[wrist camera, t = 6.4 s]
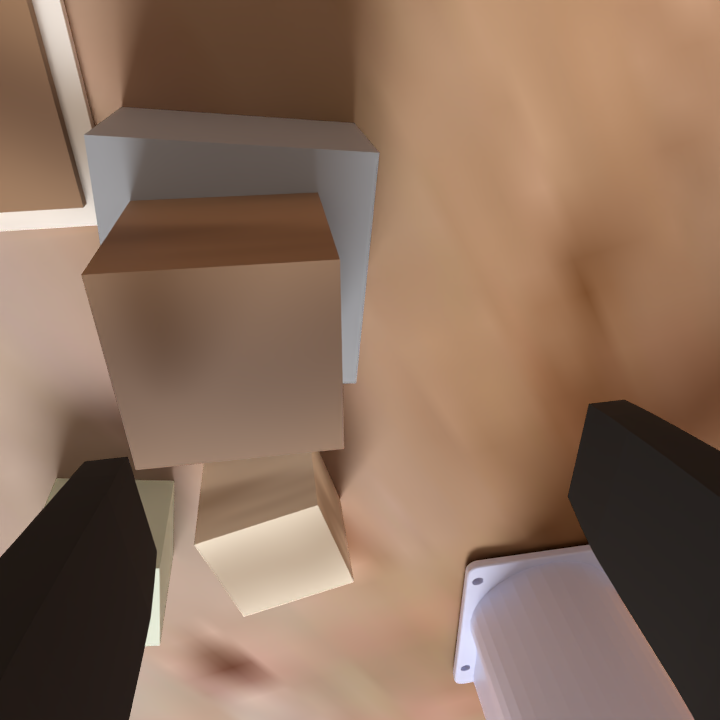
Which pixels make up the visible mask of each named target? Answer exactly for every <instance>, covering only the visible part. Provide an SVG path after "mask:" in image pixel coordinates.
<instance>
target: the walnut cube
mask: <svg viewBox="0 0 720 720" xmlns="http://www.w3.org/2000/svg"><path fill="white" fill-rule="evenodd" d="M82 279H83V282H84V286H85V290H86V293H87V297H88V300H89V304H90V308H91V311H92V315H93V318H94V322H95V326H96V329H97V333H98V336H99V340H100V344H101V347H102V351H103V354H104V358H105V362H106V365H107V369H108V372H109V376H110V379H111V383H112V387H113V390H114V394H115V397H116V401H117V405H118V408H119V412H120V415H121V419H122V423H123V426H124V430H125V433H126V437H127V441H128V444H129V448H130V451H131V455H132V459H133V462H134V466H135V469H136V470H142V469H152V468H162V467H172V466H181V465H191V464H201V463H211V462H221V461H230V460H240V459H250V458H260V457H269V456H279V455H289V454H299V453H308V452H318V451H328V450H338V449H344V416H343V370H342V325H341V280H340V258H339V255H338V252H337V249H336V246H335V243H334V240H333V237H332V234H331V230H330V227H329V224H328V221H327V218H326V215H325V212H324V209H323V206H322V203H321V200H320V197H319V194H318V192H317V193H294V194H272V195H249V196H227V197H204V198H182V199H159V200H137V201H130V202H129V203H128V205H127V206H126V208H125V209H124V211H123V212H122V214H121V215H120V217H119V218H118V220H117V221H116V223H115V224H114V226H113V228H112V229H111V231H110V232H109V234H108V235H107V237H106V238H105V240H104V241H103V243H102V244H101V246H100V247H99V249H98V250H97V252H96V253H95V255H94V256H93V258H92V260H91V261H90V263H89V264H88V266H87V267H86V269H85V270H84V272H83V273H82Z"/></svg>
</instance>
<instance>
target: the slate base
mask: <svg viewBox="0 0 720 720" xmlns="http://www.w3.org/2000/svg"><path fill="white" fill-rule="evenodd" d="M84 139H85V146H86V153H87V159H88V166H89V172H90V179H91V186H92V192H93V199H94V206H95V212H96V219H97V225H98V232H99V239H100V245H101V244H102V243H103V241H104V240H105V238H106V237H107V235H108V234H109V232H110V231H111V229H112V228H113V226H114V224H115V223H116V221H117V220H118V218H119V217H120V215H121V214H122V212H123V211H124V209H125V208H126V206H127V205H128V203H129V202H130V201H137V200H159V199H182V198H204V197H227V196H249V195H272V194H294V193H317V192H318V194H319V197H320V200H321V203H322V206H323V209H324V212H325V215H326V218H327V221H328V224H329V227H330V230H331V234H332V237H333V240H334V243H335V246H336V249H337V252H338V255H339V258H340V280H341V325H342V370H343V383H356V379H357V369H358V359H359V349H360V340H361V330H362V320H363V310H364V300H365V290H366V280H367V270H368V260H369V250H370V240H371V230H372V221H373V211H374V201H375V191H376V181H377V171H378V161H379V152H378V151H377V149H376V148H375V147H374V146H373V145H372V143H371V142H370V141H369V140H368V139H367V138H366V136H365V135H364V134H363V133H362V132H361V130H360V129H359V128H358V127H357V126H356V124H355V123H347V122H333V121H318V120H304V119H289V118H275V117H261V116H246V115H232V114H218V113H203V112H189V111H175V110H160V109H146V108H131V107H121V108H120V109H118V110H117V111H115V112H114V113H113V114H111V115H110V116H109V117H107V118H106V119H105V120H103V121H102V122H100V123H99V124H98V125H96V126H95V127H94V128H92V129H91V130H90V131H88V132H87V133H86V134H84Z"/></svg>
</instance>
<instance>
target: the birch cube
mask: <svg viewBox="0 0 720 720" xmlns="http://www.w3.org/2000/svg"><path fill="white" fill-rule="evenodd" d="M194 545H195V547H196V548H197V550H198V551H199V553H200V554H201V556H202V557H203V559H204V560H205V561H206V563H207V564H208V566H209V567H210V569H211V570H212V572H213V573H214V575H215V576H216V577H217V579H218V580H219V582H220V583H221V585H222V586H223V588H224V589H225V591H226V592H227V593H228V595H229V596H230V598H231V599H232V601H233V602H234V604H235V605H236V607H237V608H238V609H239V611H240V612H241V614H242V615H243V617H245V616H248V615H251V614H255V613H258V612H261V611H264V610H267V609H270V608H273V607H277V606H280V605H283V604H286V603H289V602H292V601H295V600H299V599H302V598H305V597H308V596H311V595H314V594H318V593H321V592H324V591H327V590H330V589H333V588H336V587H340V586H343V585H346V584H349V583H352V582H354V580H353V574H352V568H351V562H350V556H349V550H348V544H347V538H346V532H345V526H344V520H343V514H342V508H341V502H340V498H339V496H338V494H337V491H336V489H335V487H334V484H333V482H332V480H331V477H330V475H329V473H328V471H327V468H326V466H325V464H324V461H323V459H322V457H321V455H320V452H319V451H318V452H308V453H299V454H289V455H279V456H269V457H260V458H250V459H240V460H230V461H221V462H211V463H204V465H203V473H202V482H201V490H200V499H199V507H198V516H197V524H196V533H195V541H194Z"/></svg>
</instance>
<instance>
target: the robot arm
mask: <svg viewBox="0 0 720 720" xmlns="http://www.w3.org/2000/svg"><path fill="white" fill-rule="evenodd" d="M568 498H569V500H570V502H571V505H572V507H573V509H574V512H575V514H576V516H577V519H578V521H579V523H580V526H581V528H582V530H583V532H584V534H585V536H586V538H587V541H588V543H589V545H582V546H575V547H568V548H561V549H554V550H547V551H540V552H533V553H526V554H519V555H512V556H505V557H498V558H491V559H483V560H477V561H473V562H471V563H470V564H469V565H468V566H467V567H466V571H465V579H464V588H463V596H462V604H461V612H460V620H459V628H458V636H457V644H456V653H455V661H454V669H453V676H454V680H455V682H457V683H460V684H463V683H469V682H474V684H475V687H476V691H477V694H478V697H479V700H480V703H481V706H482V709H483V712H484V715H485V719H486V720H720V451H719V450H717V449H715V448H713V447H711V446H710V445H708V444H706V443H704V442H703V441H701V440H699V439H697V438H695V437H694V436H692V435H690V434H688V433H687V432H685V431H683V430H681V429H679V428H678V427H676V426H674V425H672V424H670V423H669V422H667V421H665V420H663V419H661V418H659V417H658V416H656V415H654V414H652V413H650V412H648V411H646V410H644V409H642V408H640V407H638V406H636V405H634V404H632V403H630V402H628V401H626V400H618V401H610V402H601V403H592V404H589V406H588V410H587V415H586V419H585V423H584V428H583V432H582V437H581V441H580V445H579V450H578V454H577V459H576V463H575V467H574V472H573V476H572V480H571V485H570V489H569V494H568ZM156 559H157V549H156V546H155V543H154V540H153V536H152V533H151V530H150V527H149V523H148V520H147V517H146V514H145V511H144V507H143V504H142V501H141V498H140V495H139V491H138V488H137V485H136V482H135V479H134V475H133V472H132V469H131V466H130V463H129V459H128V457H121V458H113V459H104V460H95V461H87V462H84V463H83V464H82V465H81V466H80V467H79V469H78V470H77V471H76V472H75V473H74V474H73V475H72V476H71V478H70V479H69V480H68V481H67V482H66V483H65V484H64V485H63V487H62V488H61V489H60V490H59V491H58V492H57V493H56V495H55V496H54V497H53V498H52V499H51V500H50V501H49V503H48V504H47V505H46V506H45V507H44V508H43V510H42V511H41V512H40V513H39V514H38V515H37V516H36V518H35V519H34V520H33V521H32V522H31V523H30V524H29V526H28V527H27V528H26V529H25V530H24V531H23V533H22V534H21V535H20V536H19V537H18V538H17V539H16V540H15V542H14V543H13V544H12V545H11V546H10V547H9V548H8V549H7V550H6V552H5V553H4V554H3V555H2V556H1V557H0V720H129V717H130V712H131V708H132V703H133V699H134V694H135V690H136V685H137V680H138V676H139V671H140V667H141V662H142V657H143V653H144V648H145V643H146V639H147V634H148V629H149V624H150V619H151V612H152V602H153V593H154V583H155V571H156ZM619 596H620V597H619ZM620 598H621V599H622V600H621V599H620ZM622 601H623V602H622ZM624 604H625V605H624ZM625 606H626V607H627V608H626V607H625ZM627 609H628V610H627ZM628 611H629V612H630V613H629V612H628ZM630 614H631V615H632V616H631V615H630ZM632 617H633V618H632ZM633 619H634V620H635V621H634V620H633ZM635 622H636V623H635ZM636 624H637V625H638V626H637V625H636ZM638 627H639V628H640V630H641V631H640V630H639V628H638ZM641 632H642V633H643V634H642V633H641ZM643 635H644V636H645V638H646V639H645V638H644V636H643ZM646 640H647V641H648V643H649V644H650V646H651V647H650V646H649V644H648V643H647V641H646ZM651 648H652V649H653V651H654V652H655V654H656V656H657V657H658V659H659V660H658V659H657V657H656V656H655V654H654V652H653V651H652V649H651ZM659 661H660V662H661V664H662V665H663V667H664V669H665V670H666V672H667V673H668V675H669V677H670V678H671V680H672V681H673V683H674V685H675V686H676V688H677V690H678V691H677V690H676V688H675V686H674V685H673V683H672V682H671V680H670V678H669V677H668V675H667V673H666V672H665V670H664V669H663V667H662V665H661V664H660V662H659ZM678 692H679V693H680V695H681V696H680V695H679V693H678ZM681 697H682V698H681ZM683 700H684V701H683ZM684 702H685V703H684ZM687 707H688V708H687Z"/></svg>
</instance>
